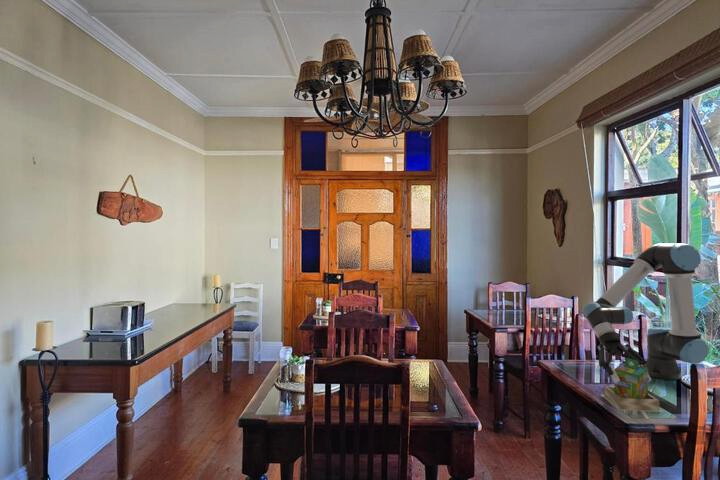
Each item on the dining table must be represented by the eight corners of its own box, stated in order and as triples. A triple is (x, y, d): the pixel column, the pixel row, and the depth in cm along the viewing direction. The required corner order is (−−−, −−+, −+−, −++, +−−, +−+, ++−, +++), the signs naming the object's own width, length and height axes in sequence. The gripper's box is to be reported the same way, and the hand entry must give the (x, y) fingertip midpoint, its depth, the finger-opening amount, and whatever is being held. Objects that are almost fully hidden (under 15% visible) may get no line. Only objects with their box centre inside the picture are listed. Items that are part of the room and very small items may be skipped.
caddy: (639, 397, 176) (639, 387, 176) (659, 410, 162) (659, 400, 162) (604, 395, 177) (604, 386, 177) (620, 409, 164) (620, 398, 164)
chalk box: (614, 395, 171) (612, 361, 168) (624, 385, 176) (622, 352, 173) (639, 403, 163) (639, 368, 161) (649, 393, 169) (648, 359, 166)
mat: (640, 397, 177) (641, 396, 177) (663, 413, 161) (663, 412, 161) (600, 395, 179) (600, 394, 179) (618, 411, 163) (618, 409, 163)
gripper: (628, 339, 187) (655, 385, 172) (576, 340, 183) (599, 387, 168) (637, 330, 181) (667, 376, 167) (584, 331, 178) (609, 378, 163)
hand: (633, 382), depth 167 cm, fingers open, 13 cm apart
